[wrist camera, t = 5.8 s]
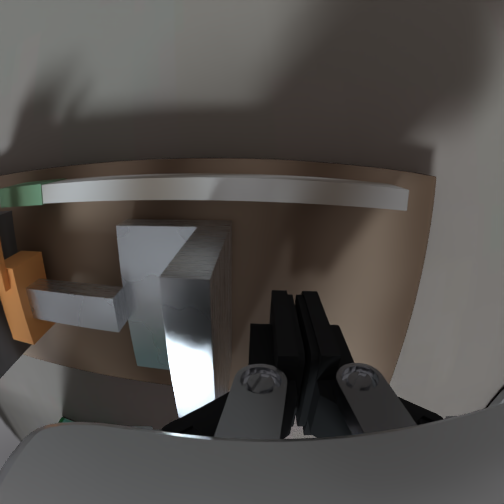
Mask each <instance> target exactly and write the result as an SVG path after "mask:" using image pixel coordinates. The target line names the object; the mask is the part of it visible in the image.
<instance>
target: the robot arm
mask: <svg viewBox="0 0 504 504" xmlns="http://www.w3.org/2000/svg"><path fill="white" fill-rule="evenodd" d="M295 415H296V421H297V426H303V432H304V435H314V436H315V437H317V438H304V439H284V438H285V437H287V436H288V435H289V434H290V431H291V427H292V426H293V425H294V420H295ZM0 504H504V389H503V390H502V391H501V392H500V393H499V394H498V396H497V397H496V398H495V399H494V400H493V401H492V403H491V404H490V405H489V406H488V408H485V409H481V410H477V411H474V412H471V413H467V414H463V415H459V416H446V418H445V419H443V418H442V417H441V416H439V415H437V414H436V413H433V412H431V411H429V410H427V409H424V408H422V407H420V406H417V405H415V404H413V403H411V402H408V401H406V400H404V399H402V398H400V397H398V396H397V395H396V394H395V392H394V391H393V389H392V388H391V386H390V385H389V384H388V382H387V381H386V379H385V378H384V377H383V375H382V374H381V373H380V372H379V371H378V370H377V369H376V368H374V367H372V366H370V365H367V364H363V363H354V360H353V358H352V355H351V353H350V351H349V348H348V346H347V343H346V341H345V338H344V336H343V334H342V331H341V329H340V327H339V325H330V324H329V321H328V318H327V316H326V313H325V310H324V308H323V305H322V303H321V300H320V297H319V295H318V292H317V291H302V293H301V295H296V299H295V304H294V299H293V295H292V294H287V290H272V293H271V307H270V322H269V324H254V323H250V341H249V363H248V366H246V367H243V368H242V369H240V370H239V371H238V372H237V373H236V375H235V377H234V380H233V383H232V386H231V389H230V391H229V392H228V393H226V394H224V395H222V396H220V397H219V398H217V399H215V400H213V401H211V402H209V403H208V404H206V405H204V406H202V407H200V408H198V409H196V410H194V411H192V412H190V413H188V414H186V415H185V416H183V417H181V418H179V419H177V420H175V421H172V422H170V423H169V424H167V425H166V426H164V427H163V428H162V430H153V428H152V426H123V425H115V424H106V423H95V422H63V423H55V424H50V425H45V426H43V427H40V428H38V429H36V430H35V431H33V432H31V433H30V434H29V435H28V436H27V437H25V438H24V439H23V440H22V441H21V443H20V444H19V445H18V446H17V448H16V449H15V450H14V451H13V452H12V454H11V455H10V456H9V458H8V459H7V461H6V462H5V464H4V465H3V467H2V468H1V470H0Z"/></svg>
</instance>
